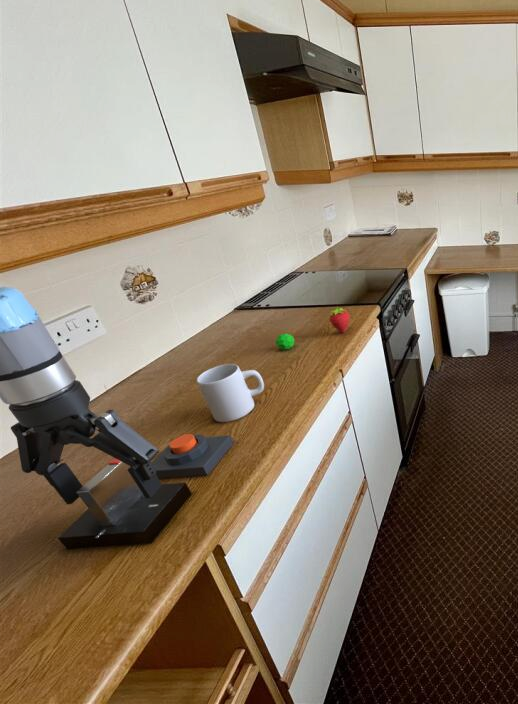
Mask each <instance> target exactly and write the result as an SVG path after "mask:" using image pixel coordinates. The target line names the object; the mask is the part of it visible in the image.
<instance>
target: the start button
mask: <svg viewBox="0 0 518 704" xmlns="http://www.w3.org/2000/svg"><path fill="white" fill-rule="evenodd" d="M193 435H194V434H191V433H187V434H182V435H179V436H177V437H176V438H175V439H173V440H172V441H171V442H170V444H169V445H170V448H171V450H172V451H173V453H174V454H181V453H184V452H187V451H189V450H190V449H192V448H193V447H194V446H195V445H196V444H197V441H196V439H195V438H194V436H193Z"/></svg>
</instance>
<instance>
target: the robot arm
mask: <svg viewBox="0 0 518 704" xmlns="http://www.w3.org/2000/svg"><path fill="white" fill-rule="evenodd" d="M0 400H1V401H2V402H3V403H4V404H6V405H9V406H8V410H9V411H10V412H11V414H12V415H13V416H14V417H15V419H16V420H17V422H16V423H15V424H13V425H11V426H10V430H11V432H12V434H13V435H14V436H15V438H16V443H17V449H18V454H19V461H20V467H21V471H22V472H24V473H25V474H30V473H32V472H35V473H36V474H37V475H39V476H43V477H44V479H45V480H46V481H47V483H49V485H50V486H52V487H53V488H54V490H55V491H56V492H57V493H58V495H59V496H60V497H61V498H62V500H63V501H64V502H65V504H66V505H72V504H74V503H75V502H76V500H78V499H79V498H80V497H79V495H78V494H77V493H76V492H77V491H78V490H80V489H81V488H82V487H83V486H84V485H83V484H82V482H81V481H80V480H79V478H77V476H76V475H75V474H74V472H73V470H72V469H71V468H70V466H69V465H68V464H67V462H62V461H63V460H64V459H63V458H61V456H62V454H63V451H64V448H65V446H67V445H70V444H73V445H80V444H81V445H82V446H84V447H86V448H91V447H93V448H95V449H97V450H99V451H101V452H103V453H105V454H107V455H108V456H110V457H112V458H113V459H118V460H120V461H122V462H123V463H125V464H127V465H129V466H130V468H129V469H128V472H129V473H130V475H131V476H132V478H133V479H134V481H135V482H136V484H137V485H138V487H139V488H140V490H141V491H142V493H143V495H144V496H145V498H151V497H152V496H153V495H154V494H155V493H156V492H157V491H158V490H159V488H160V487H161V486H162V484H163V483H162V482H161V479H158V477H157V475H156V473H157V472H156V470H155V468H154V466H153V465H152V463H151V462H152V459H154V458H156V457H157V455H159V454H160V450H159V449H158V447H156V446H155V445H153V444H152V443H151V442H150V441H148V440H147V439H146V438H144V437H143V436H142V435H140V434H139V433H138V432H137V431H135V430H134V429H133V428H132V427H131V426H129V425H128V424H126V423H125V422H124V421H123V420H122V419H121V418H120V416H119V415H118V413H117V412H116V411H115V410H113V409H108V410H106V411H105V412H103V413H100V414H95V413H94V412H92V411H91V410H90V408H89V404H90V402H91V397H90V395H89V394H88V392H87V390H86V389H85V388H84V386H83V384H82V382H81V381H80V380H77V375H76V374H75V372H74V371H73V369H72V367H71V366H70V364H69V363H68V361H67V360H66V358H65V357H64V355H63V353H62V352H61V350H60V349H59V347H58V345H57V344H56V342H55V341H54V338H53V337H52V335H51V334H50V332H49V331H48V328H47V327H46V325H45V324H44V322H43V321H42V319H41V317H40V316H39V313H38V310H36V309H35V308H34V307H32V305H31V304H30V303H29V301H28V300H27V298H26V297H25V295H24V294H23V293H22V292H21V291H20V290H19V289H16V288H13V287H8V286H0ZM96 432H98V433H96ZM61 462H62V463H61Z"/></svg>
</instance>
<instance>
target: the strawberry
mask: <svg viewBox="0 0 518 704" xmlns="http://www.w3.org/2000/svg"><path fill="white" fill-rule="evenodd" d="M343 308H344V307H341V308H338V307H336V309H332V310H331V311H329V313H331V314H330V316H329V321H330V323H331V325H332V326H333V328H335V329H336V330H337V331H339V332H340V333H341V334H344V333H346V331H347V328H348V326H349V324H350V313H349V312H348V311H347V309H343Z"/></svg>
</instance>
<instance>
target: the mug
mask: <svg viewBox="0 0 518 704" xmlns="http://www.w3.org/2000/svg"><path fill="white" fill-rule="evenodd" d="M250 377H255V378H256V380H257V382H258V386H257V387H256V388H253V389H251V388H250V389H249V387H248V385H247V383H246V380H245V379H247V378H250ZM196 384H197V385H198V388H199V390H200V392H201V394H202V396H203V398H204V400H205V402H206V405H207V406H208V408H209V410H210V413H211V416H212V417H213V419H214V420H215V421H216V422H218V423H230V422H234V421H236V420H239V419H241V418H244V417H245V416H247V415H248V414H249V413H251V412H252V410H253V409H254V407H255V401H254V399H253V397H255V396H257V395H259V394H261V393H262V392H263V391H264V388H265V383H264V380H263V377H262V375H261V374H260V373H259V372H258V371H257V370H254V369H249V370H248V369H247V370H242V371H241V369H240V367H239V366H238V365H237V364H235V363H225V364H220V365H217V366H214V367H211V368H209V369H207V370H205V371H204V372H202V373H201V374H200V375H198V376H197V378H196Z"/></svg>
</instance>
